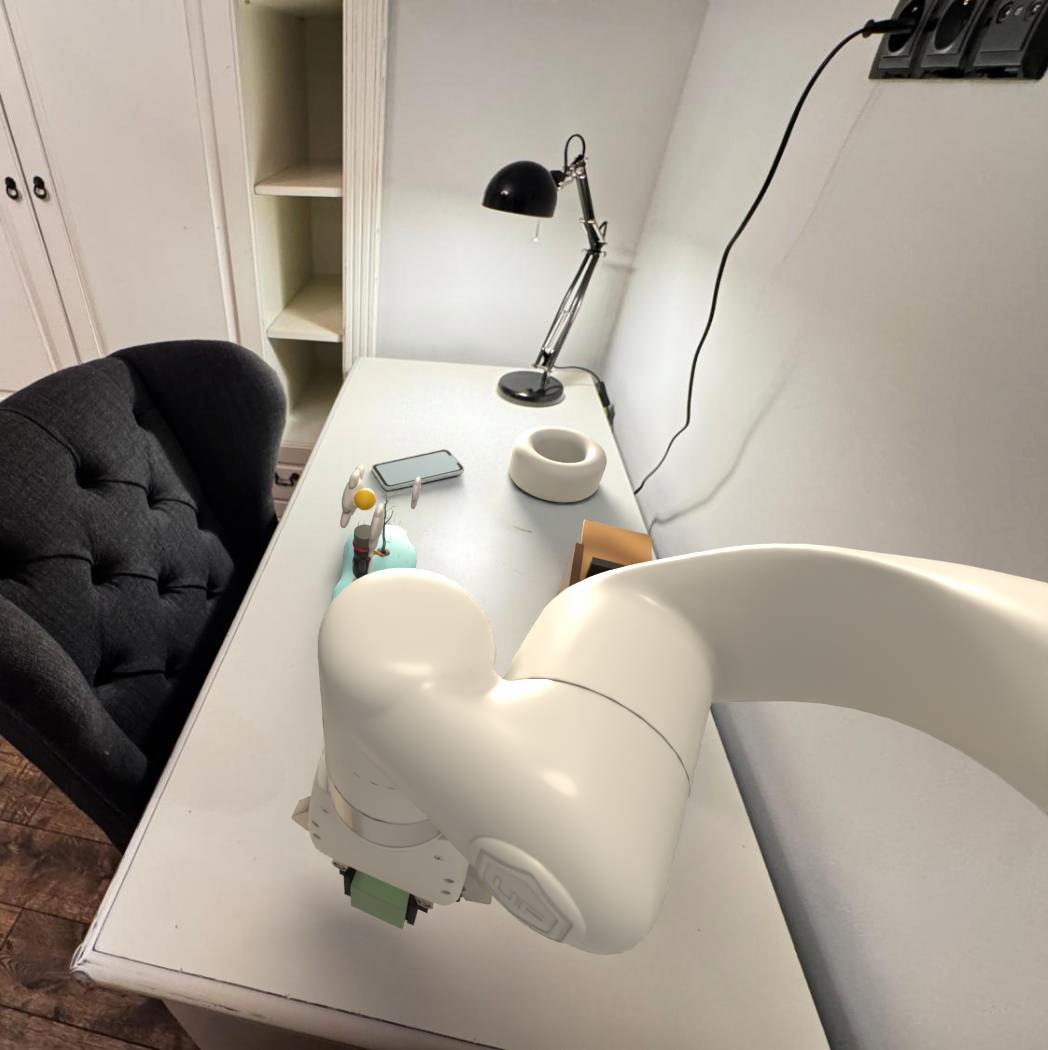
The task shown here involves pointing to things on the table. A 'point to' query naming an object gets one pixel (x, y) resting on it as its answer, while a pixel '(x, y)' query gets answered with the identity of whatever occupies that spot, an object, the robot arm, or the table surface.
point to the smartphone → (417, 469)
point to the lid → (612, 548)
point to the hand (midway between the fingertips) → (385, 887)
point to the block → (379, 899)
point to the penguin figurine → (372, 534)
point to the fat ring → (557, 464)
